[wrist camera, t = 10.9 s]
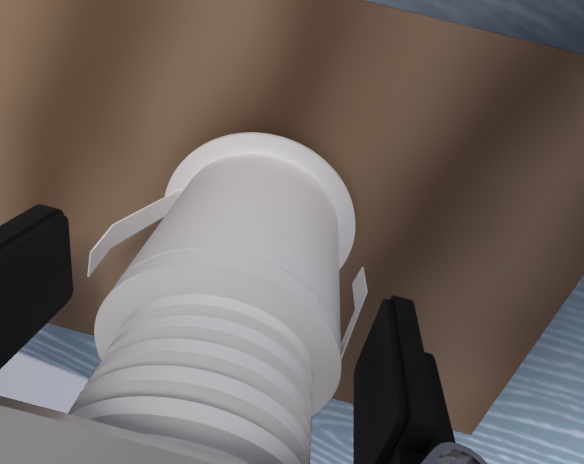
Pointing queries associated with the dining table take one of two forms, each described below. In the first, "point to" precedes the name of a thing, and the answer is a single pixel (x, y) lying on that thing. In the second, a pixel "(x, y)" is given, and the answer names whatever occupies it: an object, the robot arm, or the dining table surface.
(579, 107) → the walnut board
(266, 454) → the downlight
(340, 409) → the dining table surface
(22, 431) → the robot arm
